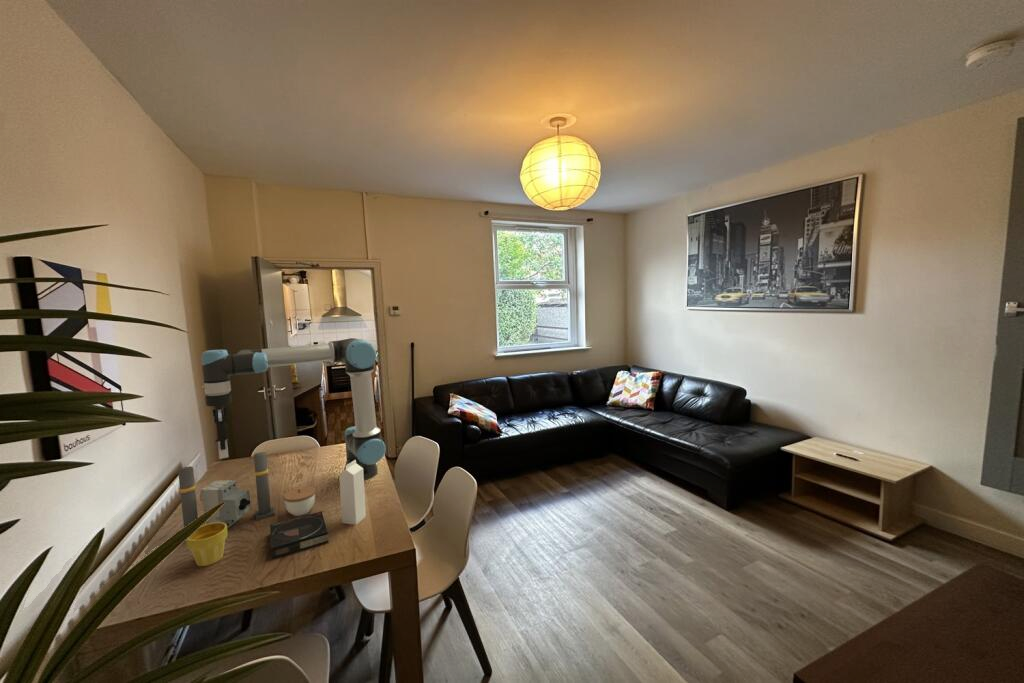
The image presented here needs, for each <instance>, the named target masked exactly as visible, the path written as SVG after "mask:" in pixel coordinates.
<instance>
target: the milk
mask: <svg viewBox="0 0 1024 683" xmlns="http://www.w3.org/2000/svg"><path fill="white" fill-rule="evenodd" d="M338 478H339V491H340V492H339V493H340V494H339V496H340V507H341V510H340V511H341V523H342V524H348V525H355V526H357V525H358V524H359V523H360V522H362V520H364V519H365V518H366V517H367V514H366V494H365V480H364V474H363V468H362V467H361V466H359V465H358V464H356V460H354V461H352V462H351V463H349V464H347V465H346V469H345V470H344V469H343V470H342V471H341V472H339V473H338Z"/></svg>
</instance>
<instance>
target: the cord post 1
mask: <svg viewBox="0 0 1024 683" xmlns="http://www.w3.org/2000/svg"><path fill="white" fill-rule="evenodd" d="M177 473H178V483H179V488H178V492H179V493H180V503H181V512H182V522H183V528H184V527H185V526H187V525H188V524H189V523H191V522H192V521H194V520H195V519H197V518H198V519H199V517H198V516H199V515H198V506H197V504H198V503H197V496H196V489H197V485H196V483H195V477H194V476H195V474H194V467H193V466H183V467H181V468H179V469H178V470H177Z"/></svg>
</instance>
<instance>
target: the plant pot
mask: <svg viewBox="0 0 1024 683" xmlns="http://www.w3.org/2000/svg"><path fill="white" fill-rule="evenodd" d="M204 524H205V525H203V524H202V525H200V526H201V527H200V528H199V529H198V530H197V531H196V532H195V533H194V534H192V535H191V536H190V537H189V538H188V539H187V540H185V543H186V547H187V549H188V550H190V551H191V554H192V555H193V558H194V561H195V563H196V565H197V566H198V567H206V566H207V567H208V566H210V565H213V564H215V563H217V562H219V561H220V560H221V559H222V558H223V556H224V552H225V544H226V539H227V537H228V528H227V525H228V524H227V525H226V524H225V523H223V522H214V523H209V524H206V523H204Z"/></svg>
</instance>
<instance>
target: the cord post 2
mask: <svg viewBox="0 0 1024 683" xmlns="http://www.w3.org/2000/svg"><path fill="white" fill-rule="evenodd" d="M253 462H254V471H253V474H254V477H255V487H256V499H257V509H258V510H255V511H254V513H255V521H259V520H262V519H266V518H271V517H274V516H275V515H276V514H275V513H276V512H275V510H274V509H275V508H274V506H271V497H270V496H271V494H270V484H269V482H270V481H269V473H270V472H269V468H268V460H267V452H265V451H259V452H256V453H254V454H253Z"/></svg>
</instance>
